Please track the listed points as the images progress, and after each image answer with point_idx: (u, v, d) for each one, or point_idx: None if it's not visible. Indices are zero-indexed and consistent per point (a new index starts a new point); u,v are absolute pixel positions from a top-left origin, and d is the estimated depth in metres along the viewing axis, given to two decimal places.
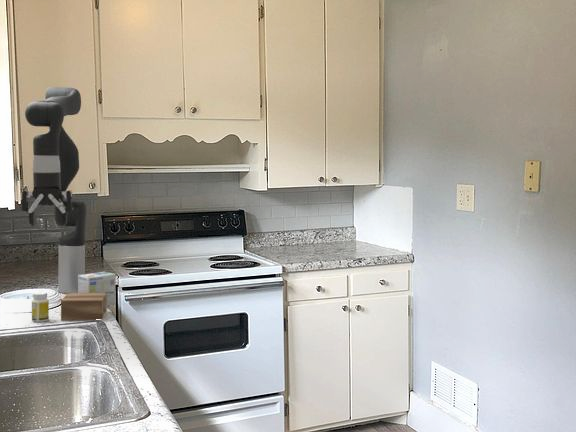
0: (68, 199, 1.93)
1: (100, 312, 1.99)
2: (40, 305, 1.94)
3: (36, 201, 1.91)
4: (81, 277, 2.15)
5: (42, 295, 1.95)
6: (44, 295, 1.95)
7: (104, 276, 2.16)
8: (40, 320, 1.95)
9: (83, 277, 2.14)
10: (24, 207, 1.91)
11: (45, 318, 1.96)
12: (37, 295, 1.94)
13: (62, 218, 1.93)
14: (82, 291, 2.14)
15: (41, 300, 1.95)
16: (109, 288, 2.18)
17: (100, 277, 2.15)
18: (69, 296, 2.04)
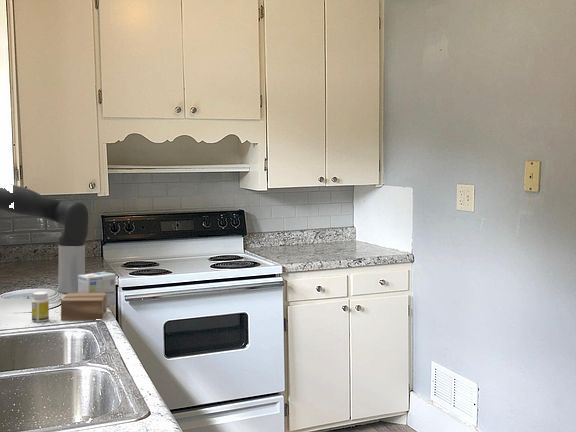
0: None
1: (100, 312, 1.99)
2: (40, 305, 1.94)
3: None
4: (81, 277, 2.15)
5: (42, 295, 1.95)
6: (44, 295, 1.95)
7: (104, 276, 2.16)
8: (40, 320, 1.95)
9: (83, 277, 2.14)
10: None
11: (45, 318, 1.96)
12: (37, 295, 1.94)
13: None
14: (82, 291, 2.14)
15: (41, 300, 1.95)
16: (109, 288, 2.18)
17: (100, 277, 2.15)
18: (69, 296, 2.04)
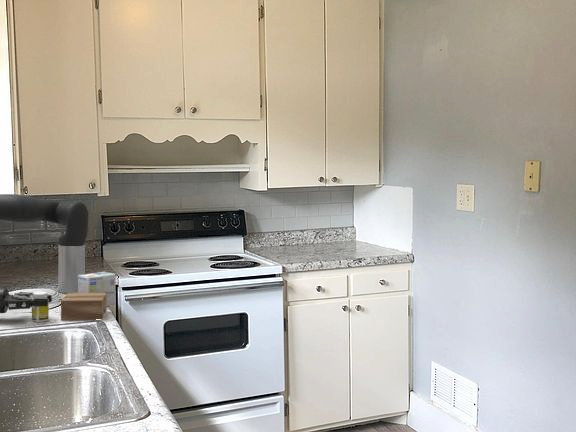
0: None
1: (100, 312, 1.99)
2: None
3: None
4: (81, 277, 2.15)
5: (42, 295, 1.95)
6: (44, 295, 1.95)
7: (104, 276, 2.16)
8: (40, 320, 1.95)
9: (83, 277, 2.14)
10: None
11: (45, 318, 1.96)
12: (37, 295, 1.94)
13: None
14: (82, 291, 2.14)
15: None
16: (109, 288, 2.18)
17: (100, 277, 2.15)
18: (69, 296, 2.04)
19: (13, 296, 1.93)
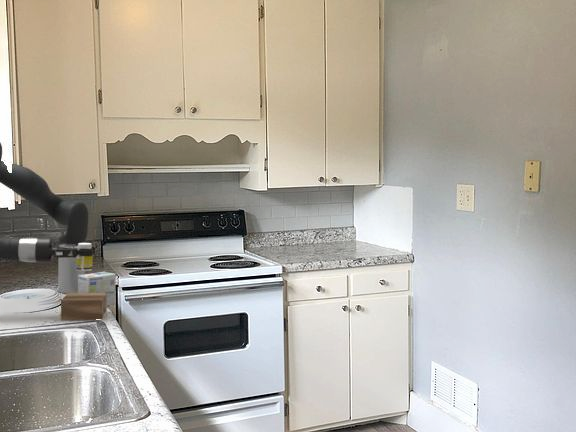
0: None
1: (100, 312, 1.99)
2: None
3: None
4: (81, 277, 2.15)
5: (87, 245, 2.01)
6: (89, 245, 2.02)
7: (104, 276, 2.16)
8: (85, 269, 2.01)
9: (83, 277, 2.14)
10: None
11: (89, 268, 2.02)
12: (82, 245, 2.01)
13: (85, 255, 2.00)
14: (82, 291, 2.14)
15: None
16: (109, 288, 2.18)
17: (100, 277, 2.15)
18: (69, 296, 2.04)
19: (59, 246, 2.00)
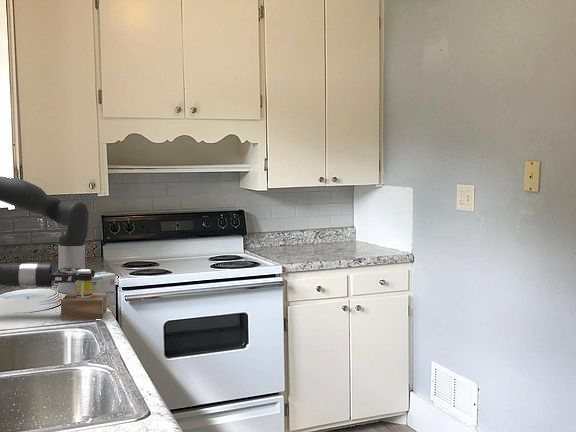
0: None
1: (100, 312, 1.99)
2: (85, 281, 2.01)
3: None
4: None
5: (86, 272, 2.02)
6: (88, 272, 2.02)
7: (104, 276, 2.16)
8: (84, 296, 2.02)
9: None
10: None
11: (89, 294, 2.03)
12: (82, 272, 2.01)
13: (84, 280, 2.01)
14: None
15: None
16: (109, 288, 2.18)
17: (100, 277, 2.15)
18: (69, 296, 2.04)
19: (59, 270, 2.01)
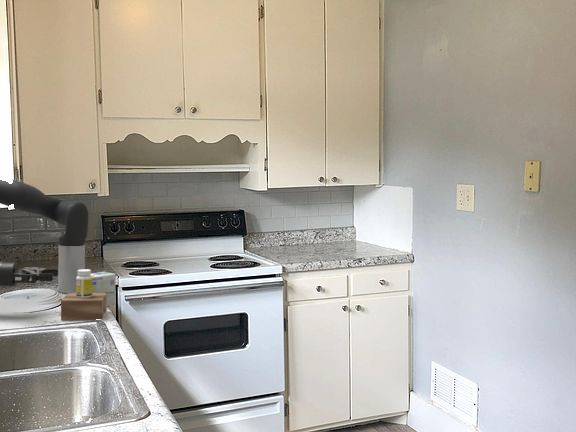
0: None
1: (100, 312, 1.99)
2: (85, 281, 2.01)
3: None
4: None
5: (86, 272, 2.02)
6: (88, 272, 2.02)
7: (104, 276, 2.16)
8: (84, 296, 2.02)
9: None
10: None
11: (89, 294, 2.03)
12: (82, 272, 2.01)
13: (45, 280, 1.98)
14: None
15: (85, 277, 2.02)
16: (109, 288, 2.18)
17: (100, 277, 2.15)
18: (69, 296, 2.04)
19: (22, 270, 1.99)
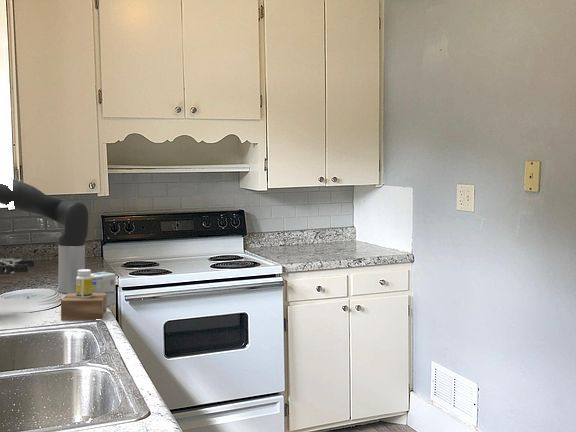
0: None
1: (100, 312, 1.99)
2: (85, 281, 2.01)
3: None
4: None
5: (86, 272, 2.02)
6: (88, 272, 2.02)
7: (104, 276, 2.16)
8: (84, 296, 2.02)
9: None
10: None
11: (89, 294, 2.03)
12: (82, 272, 2.01)
13: None
14: None
15: (85, 277, 2.02)
16: (109, 288, 2.18)
17: (100, 277, 2.15)
18: (69, 296, 2.04)
19: None
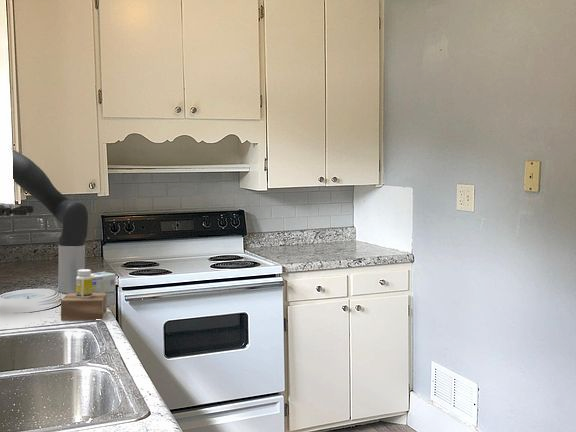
0: None
1: (100, 312, 1.99)
2: (85, 281, 2.01)
3: None
4: None
5: (86, 272, 2.02)
6: (88, 272, 2.02)
7: (104, 276, 2.16)
8: (84, 296, 2.02)
9: None
10: None
11: (89, 294, 2.03)
12: (82, 272, 2.01)
13: (19, 214, 2.02)
14: None
15: (85, 277, 2.02)
16: (109, 288, 2.18)
17: (100, 277, 2.15)
18: (69, 296, 2.04)
19: None
